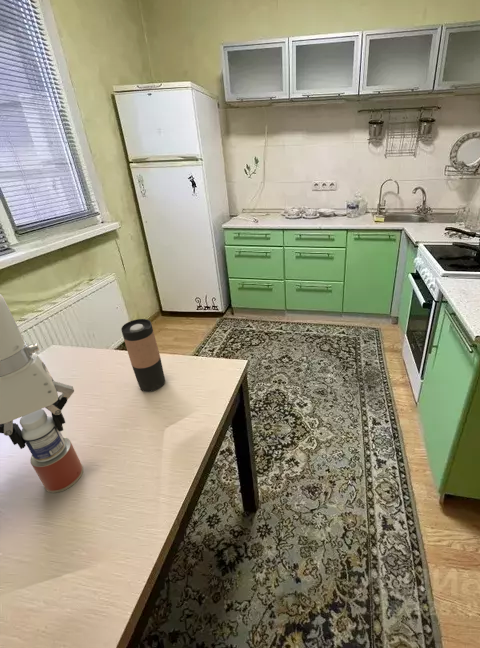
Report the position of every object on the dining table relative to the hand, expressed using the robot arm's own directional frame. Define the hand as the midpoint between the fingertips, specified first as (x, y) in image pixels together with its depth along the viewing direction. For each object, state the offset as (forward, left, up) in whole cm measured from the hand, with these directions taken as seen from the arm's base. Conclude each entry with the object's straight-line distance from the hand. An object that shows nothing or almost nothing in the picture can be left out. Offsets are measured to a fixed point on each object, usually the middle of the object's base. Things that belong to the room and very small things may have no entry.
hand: (42, 434), depth 64 cm
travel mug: (+16, +26, -13) cm, 33 cm away
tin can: (0, 0, -13) cm, 13 cm away
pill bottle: (0, 0, -5) cm, 5 cm away
